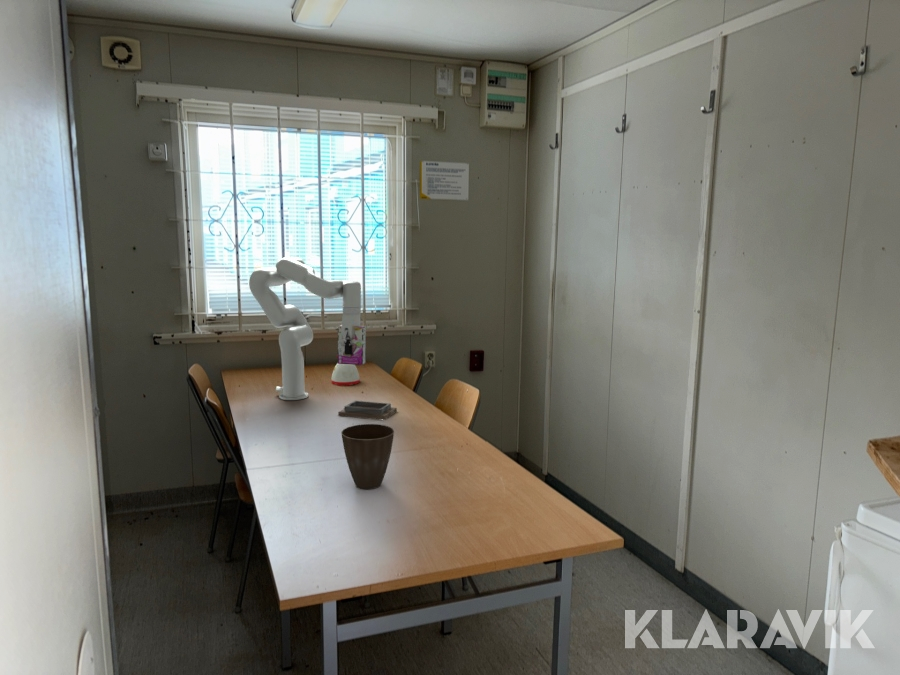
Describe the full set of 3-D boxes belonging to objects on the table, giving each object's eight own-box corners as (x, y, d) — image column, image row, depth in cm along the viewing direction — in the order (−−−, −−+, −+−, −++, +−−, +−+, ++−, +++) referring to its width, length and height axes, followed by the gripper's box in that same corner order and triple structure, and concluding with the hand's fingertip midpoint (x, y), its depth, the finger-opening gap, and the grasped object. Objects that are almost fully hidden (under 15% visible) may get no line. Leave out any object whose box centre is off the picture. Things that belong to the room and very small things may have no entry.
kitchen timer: (328, 380, 310) (327, 351, 307) (355, 378, 315) (354, 349, 313) (335, 386, 297) (334, 356, 295) (363, 384, 303) (362, 354, 300)
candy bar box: (337, 364, 262) (337, 325, 259) (340, 361, 267) (340, 324, 264) (363, 365, 261) (363, 327, 258) (365, 363, 266) (366, 325, 263)
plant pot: (348, 474, 186) (347, 423, 184) (397, 475, 186) (396, 424, 183) (337, 494, 172) (336, 439, 169) (390, 495, 171) (390, 440, 169)
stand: (384, 419, 243) (384, 411, 242) (338, 415, 248) (338, 407, 248) (396, 411, 255) (396, 403, 254) (352, 407, 260) (352, 399, 260)
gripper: (352, 308, 269) (352, 349, 272) (334, 312, 253) (334, 356, 256) (368, 309, 267) (367, 350, 270) (351, 313, 251) (350, 357, 254)
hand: (351, 352), depth 263 cm, fingers closed on candy bar box, 5 cm apart
